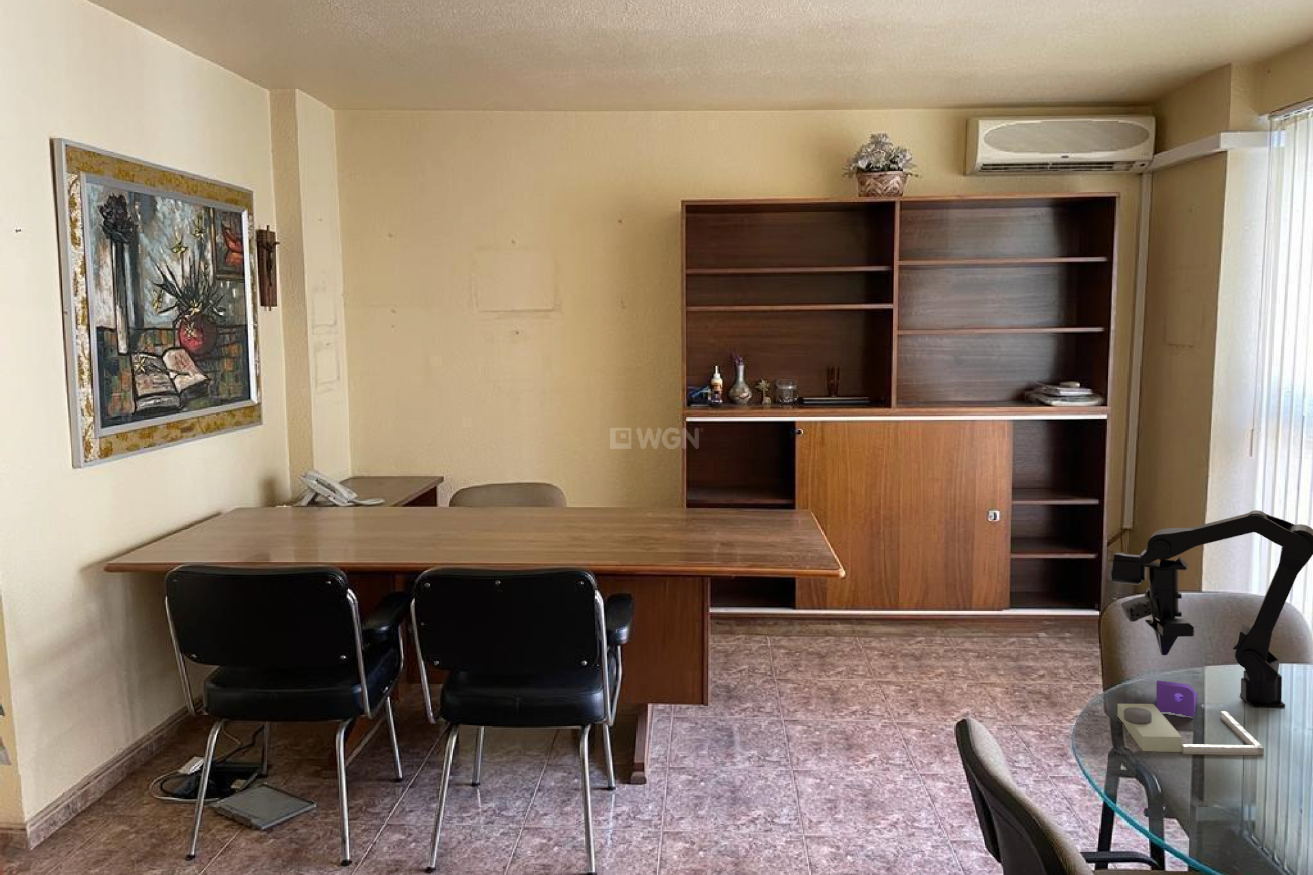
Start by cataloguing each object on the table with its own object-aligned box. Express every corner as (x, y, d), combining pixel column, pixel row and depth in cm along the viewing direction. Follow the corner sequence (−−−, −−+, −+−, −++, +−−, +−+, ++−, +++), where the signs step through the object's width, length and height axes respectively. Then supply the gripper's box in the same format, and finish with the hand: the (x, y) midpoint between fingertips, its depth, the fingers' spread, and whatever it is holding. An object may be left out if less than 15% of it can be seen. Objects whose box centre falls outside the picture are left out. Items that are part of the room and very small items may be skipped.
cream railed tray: (1226, 718, 197) (1226, 697, 197) (1263, 755, 181) (1263, 732, 180) (1112, 717, 201) (1112, 696, 201) (1138, 753, 184) (1138, 730, 184)
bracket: (1193, 720, 198) (1193, 688, 197) (1156, 714, 202) (1156, 683, 201) (1197, 699, 208) (1197, 669, 207) (1161, 694, 212) (1161, 664, 211)
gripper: (1112, 576, 223) (1113, 641, 225) (1138, 599, 205) (1139, 669, 206) (1163, 575, 221) (1164, 640, 223) (1194, 598, 203) (1194, 669, 204)
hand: (1164, 654), depth 214 cm, fingers closed
